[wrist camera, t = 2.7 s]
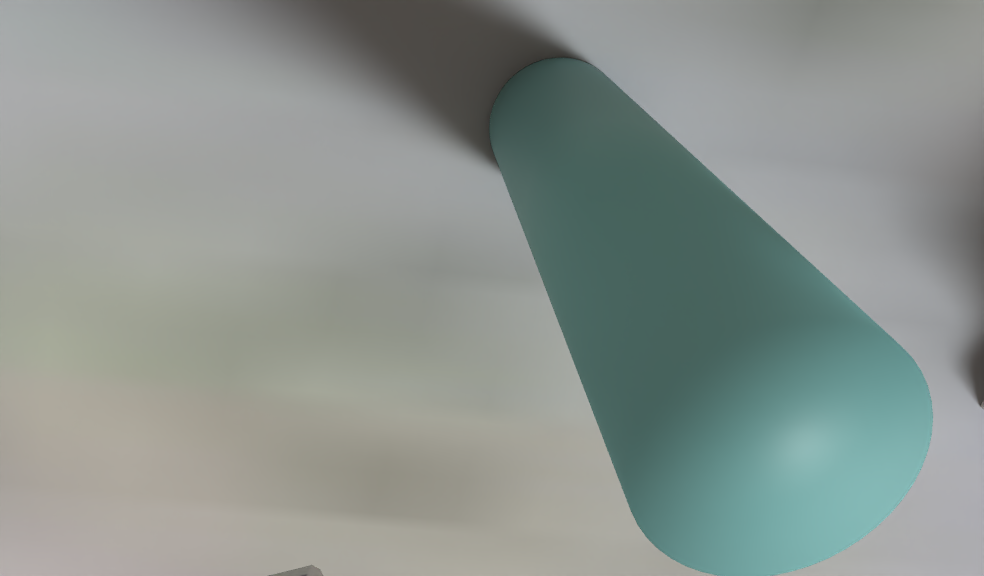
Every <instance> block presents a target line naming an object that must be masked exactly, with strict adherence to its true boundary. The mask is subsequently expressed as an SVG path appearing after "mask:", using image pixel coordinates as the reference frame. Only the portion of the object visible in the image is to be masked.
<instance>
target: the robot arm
mask: <svg viewBox="0 0 984 576" xmlns="http://www.w3.org/2000/svg"><path fill="white" fill-rule="evenodd" d="M269 576H323V574H322V572H321V570H320V569H319V568H317V567H315V566H313V565H310V566H306V567H302V568H298V569H294V570H290V571H286V572H282V573H278V574H274V575H269Z"/></svg>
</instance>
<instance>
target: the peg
mask: <svg viewBox="0 0 984 576" xmlns="http://www.w3.org/2000/svg"><path fill="white" fill-rule="evenodd" d="M489 135H490V142H491V146H492V149H493V153H494V155H495V158H496V160H497V163H498V166H499V168H500V171H501V173H502V176H503V179H504V181H505V184H506V186H507V189H508V192H509V194H510V197H511V199H512V202H513V205H514V207H515V210H516V212H517V215H518V218H519V220H520V223H521V226H522V228H523V231H524V233H525V236H526V239H527V241H528V244H529V246H530V249H531V252H532V254H533V257H534V259H535V262H536V265H537V267H538V270H539V272H540V275H541V278H542V280H543V283H544V285H545V288H546V291H547V293H548V296H549V298H550V301H551V304H552V306H553V309H554V311H555V314H556V317H557V319H558V322H559V325H560V327H561V330H562V332H563V335H564V338H565V340H566V343H567V345H568V348H569V351H570V353H571V356H572V358H573V361H574V364H575V366H576V369H577V371H578V374H579V377H580V379H581V382H582V384H583V387H584V390H585V392H586V395H587V397H588V400H589V403H590V405H591V408H592V411H593V413H594V416H595V418H596V421H597V424H598V426H599V429H600V431H601V434H602V437H603V439H604V442H605V444H606V447H607V450H608V452H609V455H610V457H611V460H612V463H613V465H614V468H615V470H616V473H617V476H618V478H619V481H620V483H621V486H622V489H623V491H624V494H625V497H626V499H627V502H628V504H629V507H630V510H631V512H632V514H633V516H634V518H635V520H636V522H637V524H638V526H639V527H640V529H641V530H642V532H643V533H644V534H645V536H646V537H647V538H648V539H649V540H650V541H651V542H652V543H653V544H654V545H655V546H656V547H657V548H658V549H659V550H660V551H662V552H663V553H664V554H666V555H667V556H669V557H670V558H671V559H673V560H675V561H677V562H679V563H681V564H683V565H685V566H687V567H690V568H693V569H695V570H698V571H701V572H705V573H709V574H714V575H718V576H771V575H777V574H782V573H787V572H791V571H795V570H798V569H801V568H804V567H808V566H811V565H813V564H815V563H818V562H820V561H823V560H825V559H828V558H830V557H831V556H833V555H835V554H837V553H839V552H841V551H843V550H845V549H846V548H848V547H850V546H851V545H853V544H854V543H856V542H857V541H859V540H860V539H862V538H863V537H864V536H866V535H867V534H868V533H869V532H871V531H872V530H873V529H874V528H876V527H877V526H878V525H879V524H880V523H881V522H882V521H883V520H884V519H885V518H886V517H887V516H888V515H889V514H891V512H892V511H893V510H894V509H895V508H896V506H897V505H898V504H899V503H900V502H901V501H902V499H903V498H904V497H905V495H906V494H907V492H908V491H909V489H910V488H911V486H912V485H913V483H914V481H915V479H916V477H917V476H918V474H919V472H920V470H921V468H922V465H923V463H924V460H925V457H926V455H927V452H928V448H929V444H930V439H931V435H932V423H933V412H932V401H931V397H930V393H929V389H928V385H927V383H926V381H925V378H924V376H923V374H922V372H921V370H920V368H919V367H918V366H917V364H916V363H915V361H914V360H913V358H912V357H911V356H910V355H909V354H908V353H907V352H906V351H905V350H904V349H903V348H902V347H901V346H900V345H899V344H898V343H897V342H896V341H895V340H894V339H893V338H892V337H891V336H890V335H888V334H887V333H886V332H885V331H884V330H883V329H882V328H881V327H880V326H879V325H878V324H876V323H875V322H874V321H873V320H872V319H871V318H870V317H869V316H868V315H867V314H866V313H864V312H863V311H862V310H861V309H860V308H859V307H858V306H857V305H856V304H855V303H854V302H852V301H851V300H850V299H849V298H848V297H847V296H846V295H845V294H844V293H843V292H842V291H840V290H839V289H838V288H837V287H836V286H835V285H834V284H833V283H832V282H831V281H830V280H828V279H827V278H826V277H825V276H824V275H823V274H822V273H821V272H820V271H819V270H818V269H816V268H815V267H814V266H813V265H812V264H811V263H810V262H809V261H808V260H807V259H806V258H804V257H803V256H802V255H801V254H800V253H799V252H798V251H797V250H796V249H795V248H794V247H792V246H791V245H790V244H789V243H788V242H787V241H786V240H785V239H784V238H783V237H782V236H780V235H779V234H778V233H777V232H776V231H775V230H774V229H773V228H772V227H771V226H770V225H768V224H767V223H766V222H765V221H764V220H763V219H762V218H761V217H760V216H759V215H758V214H756V213H755V212H754V211H753V210H752V209H751V208H750V207H749V206H748V205H747V204H746V203H744V202H743V201H742V200H741V199H740V198H739V197H738V196H737V195H736V194H735V193H734V192H732V191H731V190H730V189H729V188H728V187H727V186H726V185H725V184H724V183H723V182H722V181H720V180H719V179H718V178H717V177H716V176H715V175H714V174H713V173H712V172H711V171H710V170H708V169H707V168H706V167H705V166H704V165H703V164H702V163H701V162H700V161H699V160H698V159H696V158H695V157H694V156H693V155H692V154H691V153H690V152H689V151H688V150H687V149H686V148H684V147H683V146H682V145H681V144H680V143H679V142H678V141H677V140H676V139H675V138H674V137H672V136H671V135H670V134H669V133H668V132H667V131H666V130H665V129H664V128H663V127H662V126H660V125H659V124H658V123H657V122H656V121H655V120H654V119H653V118H652V117H651V116H650V115H648V114H647V113H646V112H645V111H644V110H643V109H642V108H641V107H640V106H639V105H638V104H636V103H635V102H634V101H633V100H632V99H631V98H630V97H629V96H628V95H627V94H626V93H624V92H623V91H622V90H621V89H620V88H619V87H618V86H617V85H616V84H615V83H614V82H612V81H611V80H610V79H609V78H608V77H607V76H606V75H605V74H604V73H603V72H601V71H600V70H599V69H597V68H596V67H594V66H592V65H590V64H588V63H586V62H583V61H581V60H577V59H572V58H550V59H545V60H541V61H538V62H535V63H533V64H531V65H529V66H527V67H525V68H524V69H522V70H521V71H519V72H518V73H517V74H515V75H514V76H513V77H512V78H511V79H510V80H509V81H508V82H507V83H506V84H505V86H504V87H503V88H502V90H501V91H500V93H499V95H498V97H497V98H496V100H495V103H494V106H493V108H492V112H491V116H490V124H489Z"/></svg>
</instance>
